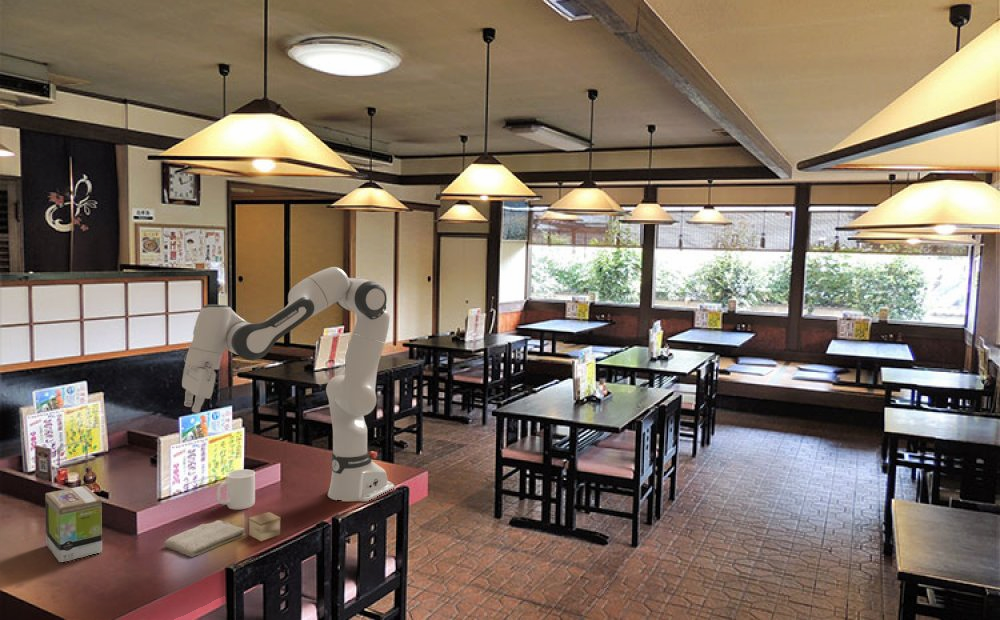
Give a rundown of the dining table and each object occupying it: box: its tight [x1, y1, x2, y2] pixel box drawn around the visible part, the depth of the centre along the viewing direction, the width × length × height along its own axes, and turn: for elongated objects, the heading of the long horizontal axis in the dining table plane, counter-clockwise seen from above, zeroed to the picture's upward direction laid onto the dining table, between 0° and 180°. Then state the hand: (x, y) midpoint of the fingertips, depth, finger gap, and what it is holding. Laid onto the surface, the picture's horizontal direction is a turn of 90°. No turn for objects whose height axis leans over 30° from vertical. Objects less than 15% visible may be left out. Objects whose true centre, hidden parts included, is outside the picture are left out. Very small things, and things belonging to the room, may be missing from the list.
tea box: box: [44, 485, 103, 563], centre depth 180 cm, size 15×10×15 cm
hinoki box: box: [248, 511, 281, 542], centre depth 192 cm, size 6×6×5 cm
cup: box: [216, 468, 256, 511], centre depth 212 cm, size 8×12×10 cm
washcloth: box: [163, 519, 246, 558], centre depth 188 cm, size 12×18×3 cm, turn 150°
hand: (191, 409), depth 188 cm, fingers open, 8 cm apart
